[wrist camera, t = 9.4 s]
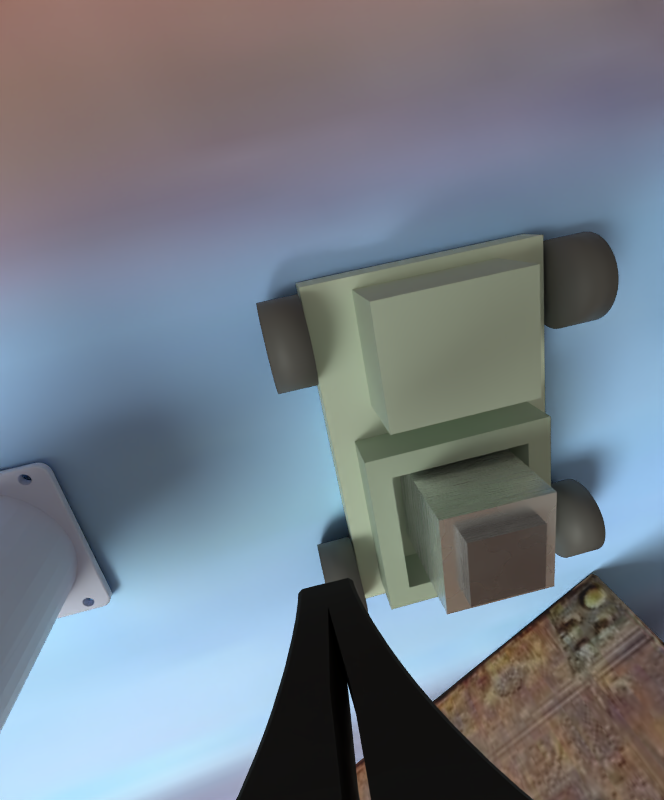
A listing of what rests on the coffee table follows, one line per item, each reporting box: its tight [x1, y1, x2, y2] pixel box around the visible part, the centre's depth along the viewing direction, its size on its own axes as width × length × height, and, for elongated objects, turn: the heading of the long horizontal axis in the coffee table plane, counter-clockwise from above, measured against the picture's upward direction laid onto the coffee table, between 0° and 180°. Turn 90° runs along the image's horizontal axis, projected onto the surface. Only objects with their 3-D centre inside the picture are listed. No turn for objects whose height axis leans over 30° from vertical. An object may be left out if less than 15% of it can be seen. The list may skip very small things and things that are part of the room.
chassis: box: [256, 232, 618, 612], centre depth 20 cm, size 13×16×4 cm
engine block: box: [400, 449, 557, 614], centre depth 19 cm, size 4×4×6 cm
